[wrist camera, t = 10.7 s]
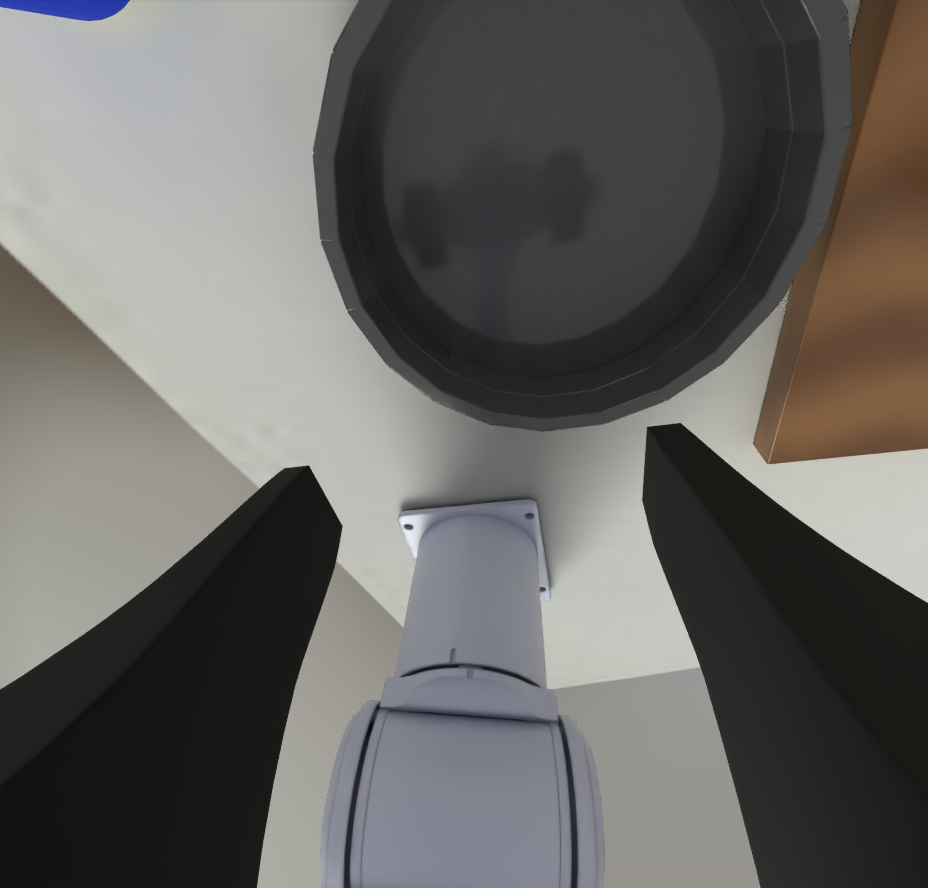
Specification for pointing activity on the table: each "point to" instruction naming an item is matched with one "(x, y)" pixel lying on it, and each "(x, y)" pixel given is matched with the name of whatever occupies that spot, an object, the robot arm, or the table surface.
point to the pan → (575, 190)
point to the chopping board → (864, 268)
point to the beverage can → (69, 8)
